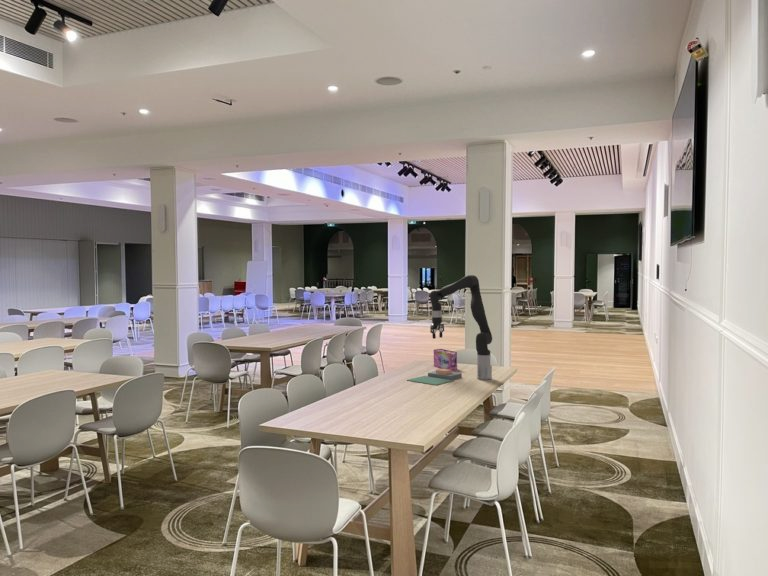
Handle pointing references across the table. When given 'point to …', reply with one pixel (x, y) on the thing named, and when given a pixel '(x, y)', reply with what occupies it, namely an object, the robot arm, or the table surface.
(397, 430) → the table surface
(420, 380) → the green mat
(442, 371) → the coral tile
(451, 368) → the gum box
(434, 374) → the gray riser
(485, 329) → the robot arm
